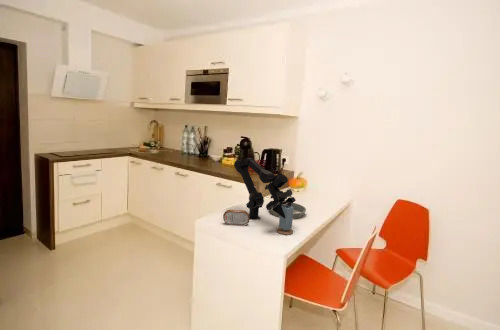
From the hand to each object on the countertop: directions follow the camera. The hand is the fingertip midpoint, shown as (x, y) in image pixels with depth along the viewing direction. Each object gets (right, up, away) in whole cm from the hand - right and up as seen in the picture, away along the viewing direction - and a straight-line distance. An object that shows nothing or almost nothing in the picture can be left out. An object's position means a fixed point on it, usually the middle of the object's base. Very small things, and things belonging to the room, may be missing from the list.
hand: (288, 217), depth 156 cm
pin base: (-2, -8, +3) cm, 9 cm away
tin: (-29, -6, +8) cm, 30 cm away
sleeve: (-1, -6, +2) cm, 7 cm away
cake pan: (+4, -4, +34) cm, 35 cm away
